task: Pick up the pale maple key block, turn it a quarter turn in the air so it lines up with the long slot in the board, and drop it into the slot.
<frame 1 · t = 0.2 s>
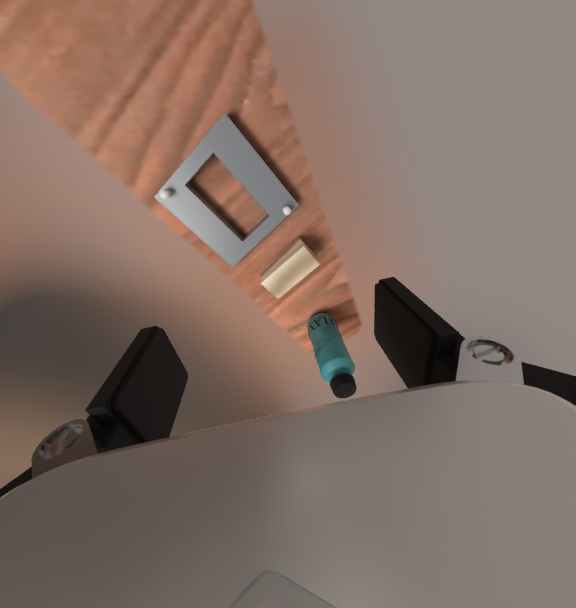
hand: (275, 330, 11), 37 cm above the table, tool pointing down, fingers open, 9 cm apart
beverage bottle: (318, 320, 57), on the table
slot board: (230, 198, 41), on the table
key block: (286, 261, 48), on the table
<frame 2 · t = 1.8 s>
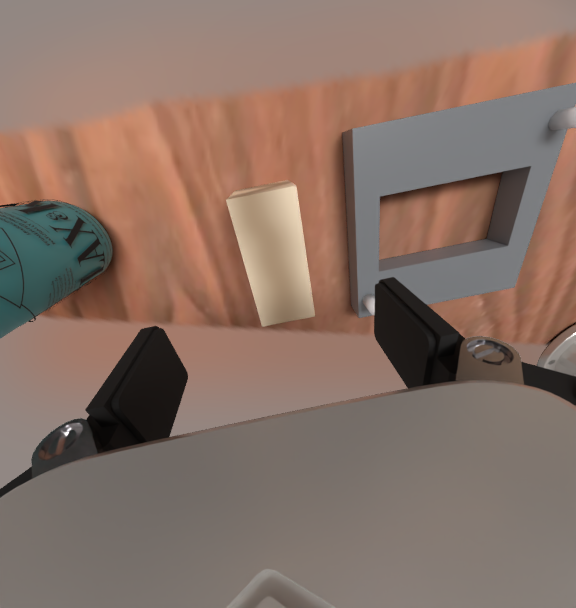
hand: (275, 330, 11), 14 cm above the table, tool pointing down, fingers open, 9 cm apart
beverage bottle: (84, 234, 21), on the table
slot board: (431, 217, 23), on the table
key block: (273, 243, 23), on the table
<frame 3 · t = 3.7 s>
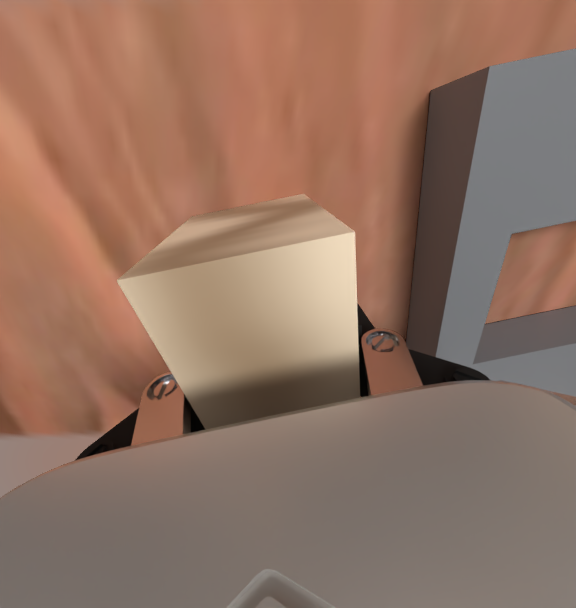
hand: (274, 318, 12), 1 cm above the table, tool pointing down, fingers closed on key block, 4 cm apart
slot board: (564, 260, 13), on the table
key block: (273, 309, 12), on the table, touching gripper
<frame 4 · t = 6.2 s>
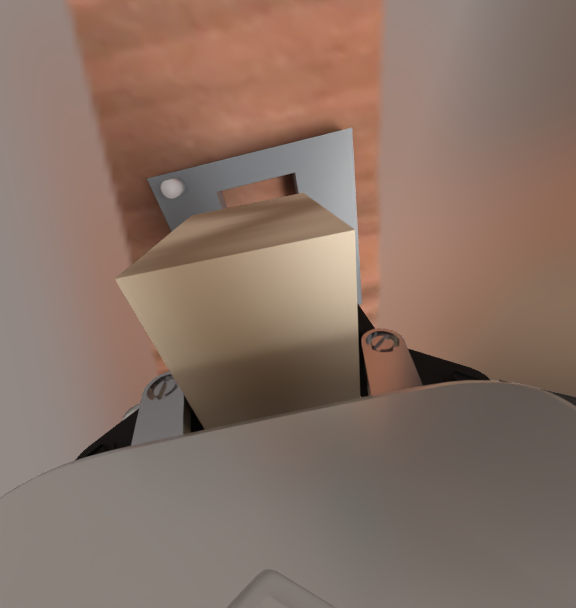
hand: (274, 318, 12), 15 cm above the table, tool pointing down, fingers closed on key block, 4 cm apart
slot board: (272, 244, 25), on the table
key block: (273, 309, 12), point 14 cm above the table, touching gripper
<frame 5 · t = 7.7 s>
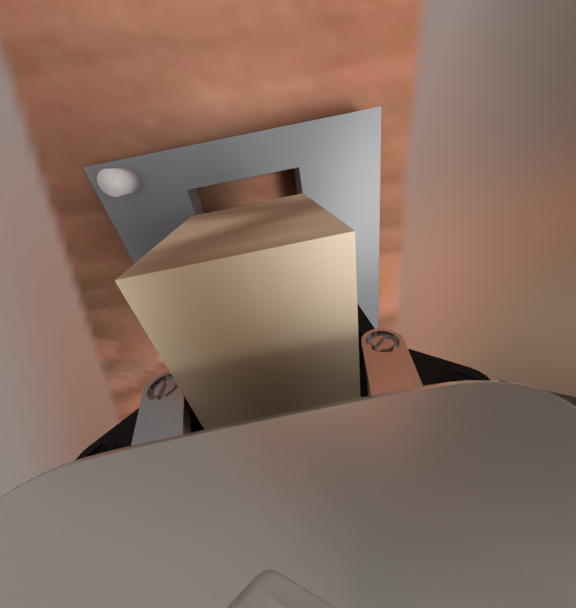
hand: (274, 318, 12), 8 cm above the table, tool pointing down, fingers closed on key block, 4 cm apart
slot board: (265, 262, 19), on the table
key block: (273, 309, 12), point 8 cm above the table, touching gripper
when the fingers open (4 cm above the table, at t = 8.9 s): key block drops 3 cm, resting in slot board.
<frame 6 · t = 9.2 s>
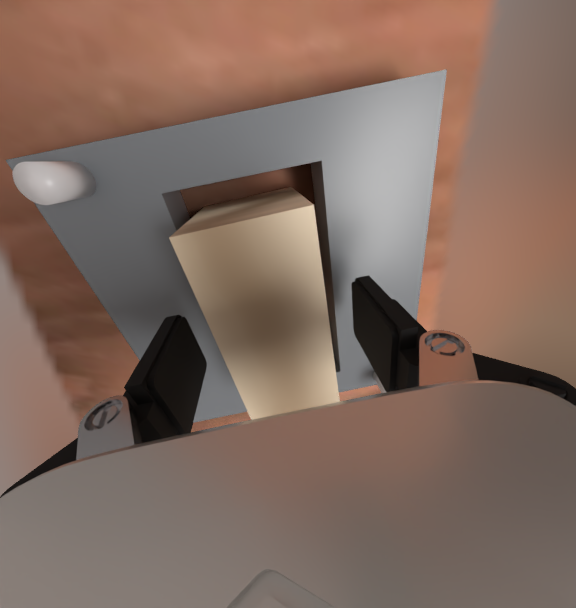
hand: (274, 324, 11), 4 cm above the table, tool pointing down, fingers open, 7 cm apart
slot board: (270, 283, 15), on the table
key block: (270, 282, 15), resting in slot board
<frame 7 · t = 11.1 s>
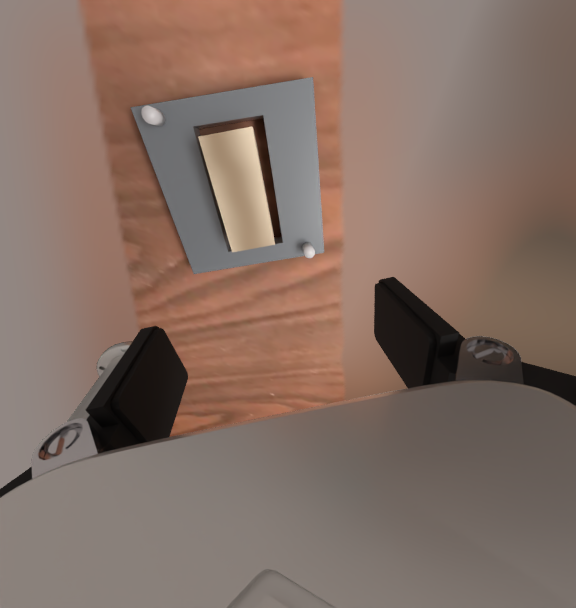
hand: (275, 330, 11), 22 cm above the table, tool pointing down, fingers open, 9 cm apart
slot board: (245, 189, 28), on the table
key block: (245, 188, 28), resting in slot board
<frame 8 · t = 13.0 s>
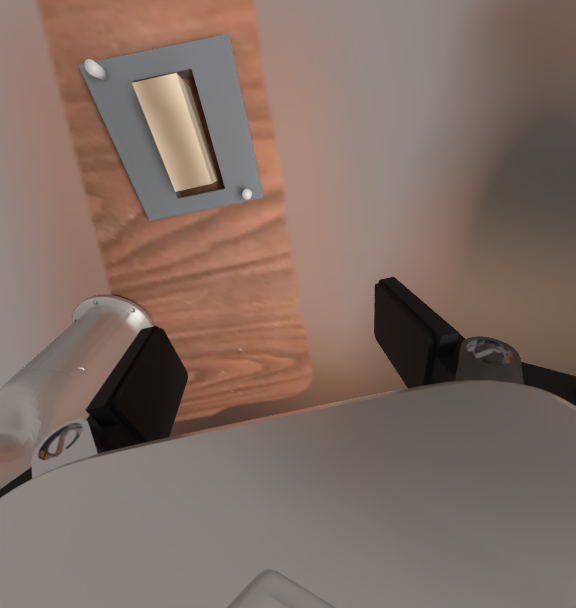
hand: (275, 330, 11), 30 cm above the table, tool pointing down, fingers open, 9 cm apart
slot board: (188, 141, 32), on the table
key block: (188, 141, 32), resting in slot board
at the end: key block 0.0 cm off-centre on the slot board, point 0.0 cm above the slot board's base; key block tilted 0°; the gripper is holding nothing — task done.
